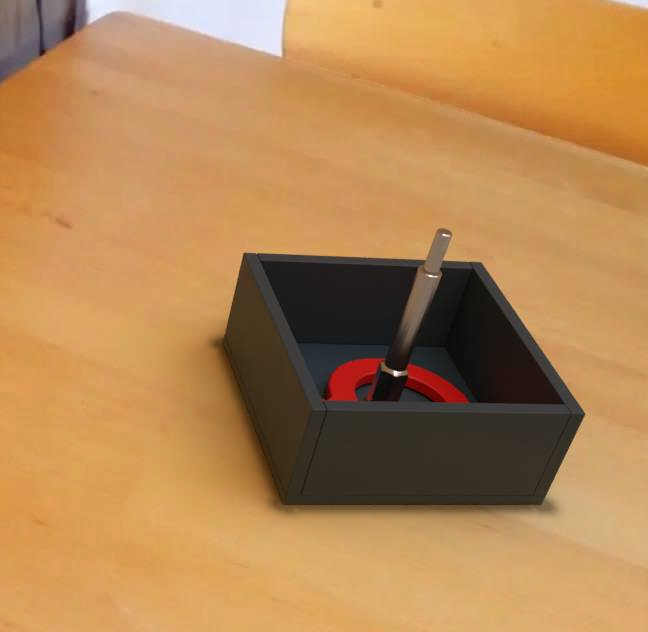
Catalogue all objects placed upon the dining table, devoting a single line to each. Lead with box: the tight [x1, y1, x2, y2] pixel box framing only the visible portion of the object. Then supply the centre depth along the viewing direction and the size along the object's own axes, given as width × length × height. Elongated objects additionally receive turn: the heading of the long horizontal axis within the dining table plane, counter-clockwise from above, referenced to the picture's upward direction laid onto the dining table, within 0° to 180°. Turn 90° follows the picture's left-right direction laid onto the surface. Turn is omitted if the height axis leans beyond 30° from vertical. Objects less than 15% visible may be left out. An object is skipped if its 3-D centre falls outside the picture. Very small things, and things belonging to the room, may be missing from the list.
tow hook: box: [322, 227, 469, 403], centre depth 67 cm, size 8×13×9 cm
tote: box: [222, 252, 586, 505], centre depth 69 cm, size 15×15×6 cm
